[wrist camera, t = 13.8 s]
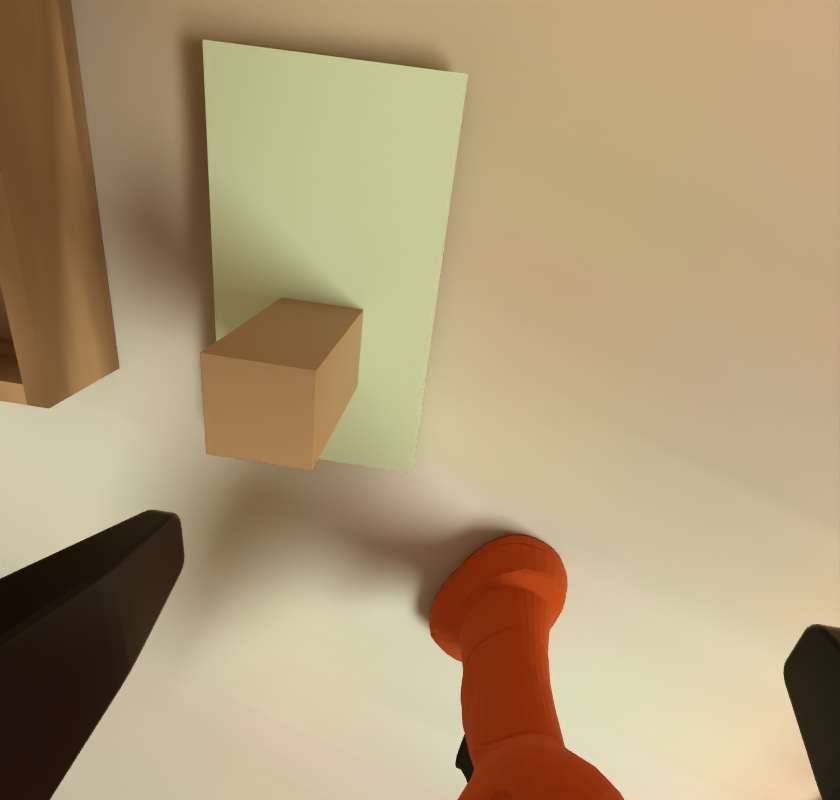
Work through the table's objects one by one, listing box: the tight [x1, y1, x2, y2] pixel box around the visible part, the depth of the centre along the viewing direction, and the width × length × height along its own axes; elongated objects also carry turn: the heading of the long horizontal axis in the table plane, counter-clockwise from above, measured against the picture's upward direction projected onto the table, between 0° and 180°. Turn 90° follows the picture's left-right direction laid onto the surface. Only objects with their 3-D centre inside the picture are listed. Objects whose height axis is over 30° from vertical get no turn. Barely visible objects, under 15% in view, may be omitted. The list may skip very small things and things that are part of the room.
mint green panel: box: [200, 39, 468, 474], centre depth 16 cm, size 8×14×8 cm, turn 173°
